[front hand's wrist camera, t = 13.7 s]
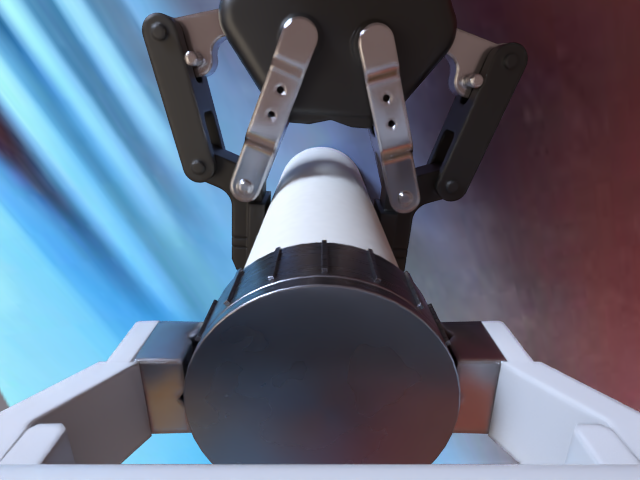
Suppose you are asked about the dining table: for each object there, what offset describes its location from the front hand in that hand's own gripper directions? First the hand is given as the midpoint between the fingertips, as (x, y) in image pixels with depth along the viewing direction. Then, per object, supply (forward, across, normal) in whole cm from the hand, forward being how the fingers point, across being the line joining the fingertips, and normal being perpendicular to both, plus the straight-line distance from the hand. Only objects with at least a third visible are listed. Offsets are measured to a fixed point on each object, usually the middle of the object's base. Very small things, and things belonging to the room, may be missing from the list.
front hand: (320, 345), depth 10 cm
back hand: (+9, 0, -3) cm, 9 cm away
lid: (-2, 0, 0) cm, 2 cm away
